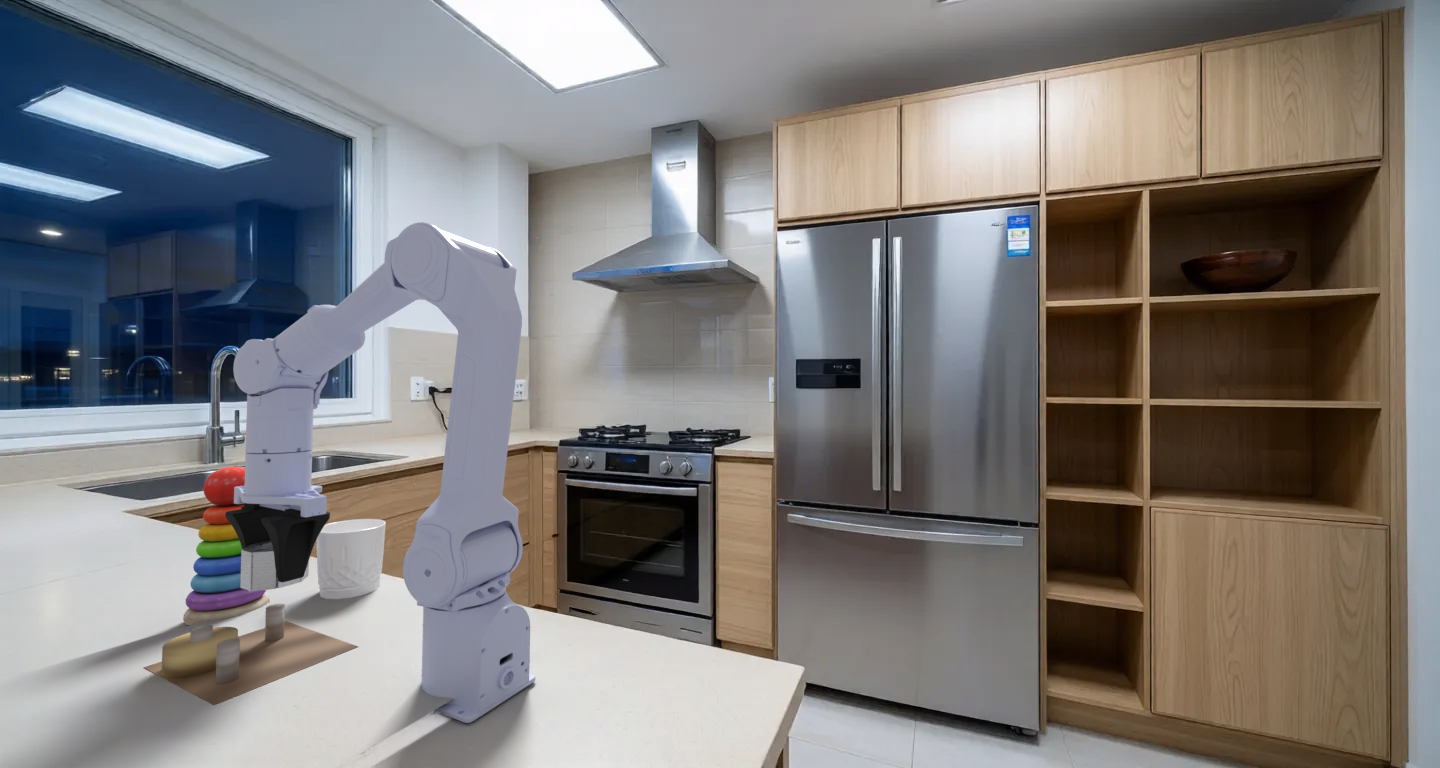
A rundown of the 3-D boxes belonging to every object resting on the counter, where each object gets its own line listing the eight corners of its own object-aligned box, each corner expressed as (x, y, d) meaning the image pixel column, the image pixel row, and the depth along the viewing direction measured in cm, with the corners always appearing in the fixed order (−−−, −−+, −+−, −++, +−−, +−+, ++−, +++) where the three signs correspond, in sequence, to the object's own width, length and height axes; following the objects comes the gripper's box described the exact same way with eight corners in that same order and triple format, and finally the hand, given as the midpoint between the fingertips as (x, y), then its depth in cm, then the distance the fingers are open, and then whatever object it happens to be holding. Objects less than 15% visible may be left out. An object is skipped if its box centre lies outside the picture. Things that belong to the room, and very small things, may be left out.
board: (358, 657, 57) (359, 613, 57) (213, 718, 46) (215, 663, 46) (285, 631, 63) (286, 591, 63) (143, 679, 52) (144, 631, 52)
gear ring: (316, 577, 60) (317, 541, 60) (258, 593, 55) (259, 554, 55) (290, 570, 62) (291, 536, 62) (232, 585, 57) (233, 547, 58)
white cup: (302, 602, 72) (304, 527, 72) (364, 584, 79) (365, 516, 79) (334, 614, 68) (336, 535, 68) (396, 594, 75) (397, 523, 75)
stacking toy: (285, 606, 70) (289, 463, 71) (223, 632, 63) (229, 472, 63) (231, 603, 71) (236, 462, 72) (163, 629, 63) (169, 470, 64)
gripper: (357, 451, 60) (354, 574, 59) (285, 445, 66) (282, 555, 66) (283, 458, 53) (279, 595, 53) (212, 450, 59) (208, 572, 59)
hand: (276, 574), depth 59 cm, fingers closed on gear ring, 5 cm apart
